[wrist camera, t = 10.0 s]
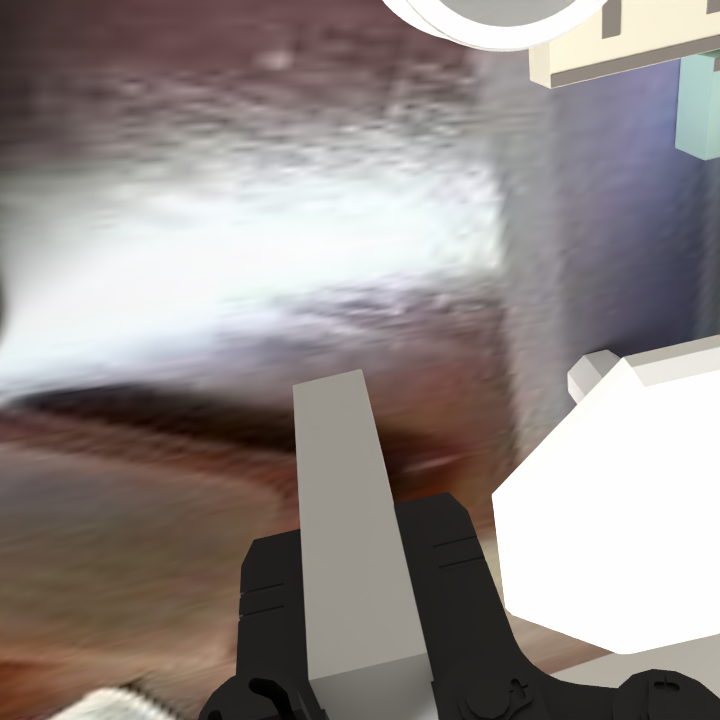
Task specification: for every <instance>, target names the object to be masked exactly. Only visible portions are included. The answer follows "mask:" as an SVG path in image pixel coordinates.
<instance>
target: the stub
mask: <svg viewBox="0 0 720 720" xmlns="http://www.w3.org/2000/svg"><path fill="white" fill-rule="evenodd" d="M675 148H677V149H679V150H681V151H684V152H686V153H688V154H691V155H693V156H695V157H698V158H700V159H702V160H709V159H713V158H717V157H720V49H717V50H713V51H709V52H704V53H700V54H696V55H692V56H687V57H683V58H681V67H680V81H679V95H678V110H677V124H676V138H675Z"/></svg>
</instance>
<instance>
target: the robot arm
mask: <svg viewBox="0 0 720 720" xmlns="http://www.w3.org/2000/svg"><path fill="white" fill-rule="evenodd" d="M293 397H294V415H295V434H296V453H297V472H298V490H299V509H300V528H301V529H297V530H293V531H289V532H285V533H280V534H276V535H272V536H268V537H264V538H259V539H255V540H254V541H253V543H252V545H251V547H250V549H249V551H248V553H247V555H246V557H245V560H244V562H243V564H242V566H241V584H240V595H241V598H240V604H239V618H240V621H239V624H238V644H237V664H236V675H235V676H233V677H231V678H229V679H228V680H227V681H226V682H225V683H224V684H222V685H221V686H220V687H219V688H218V689H217V690H215V691H214V692H213V693H212V695H211V696H210V698H209V699H208V701H207V703H206V704H205V706H204V707H203V709H202V710H201V712H200V715H199V718H198V720H720V699H719V698H718V697H717V696H716V695H715V694H714V693H712V692H711V691H710V690H709V689H707V688H706V687H705V686H704V685H703V684H701V683H700V682H699V681H697V680H695V679H692V678H690V677H688V676H685V675H683V674H681V673H678V672H676V671H667V670H657V669H651V670H648V671H644V672H640V673H637V674H634V675H632V676H631V677H630V678H629V679H627V680H626V681H625V682H624V683H623V684H622V685H621V686H619V688H608V687H599V686H589V685H580V684H574V683H569V682H565V681H560V680H558V679H556V678H554V677H552V676H550V675H547V674H545V673H544V672H542V671H541V670H540V669H538V668H537V667H536V666H534V665H533V664H532V663H531V662H530V661H529V660H528V659H527V658H526V656H525V655H524V654H523V653H522V652H521V650H520V648H519V646H518V644H517V642H516V640H515V638H514V636H513V633H512V630H511V627H510V625H509V622H508V619H507V617H506V614H505V611H504V608H503V606H502V603H501V600H500V597H499V595H498V592H497V589H496V587H495V584H494V581H493V578H492V576H491V573H490V570H489V568H488V565H487V562H486V561H485V557H484V554H483V551H482V548H481V546H480V543H479V540H478V539H477V535H476V532H475V529H474V527H473V524H472V521H471V519H470V516H469V513H468V511H467V510H466V509H465V508H464V507H463V506H462V505H461V504H460V503H459V502H458V501H457V500H456V499H455V498H454V497H453V496H452V495H451V494H450V493H449V492H446V493H442V494H438V495H434V496H429V497H425V498H421V499H417V500H413V501H408V502H404V503H400V504H396V505H394V503H393V498H392V494H391V490H390V485H389V481H388V477H387V472H386V468H385V464H384V460H383V456H382V451H381V447H380V443H379V439H378V435H377V431H376V426H375V422H374V418H373V414H372V410H371V406H370V402H369V397H368V393H367V389H366V385H365V381H364V377H363V372H362V369H359V370H355V371H351V372H346V373H342V374H338V375H334V376H330V377H325V378H321V379H317V380H313V381H308V382H304V383H300V384H296V385H293Z"/></svg>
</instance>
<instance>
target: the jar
mask: <svg viewBox="0 0 720 720" xmlns="http://www.w3.org/2000/svg"><path fill="white" fill-rule="evenodd" d="M383 1H384V3H385V4H386V5H387V6H388V7H389V8H390V9H391V10H392V11H393V12H394V13H396V14H397V15H398V16H399V17H401V18H402V19H403V20H405V21H406V22H408V23H409V24H411V25H412V26H414V27H416V28H418V29H420V30H422V31H424V32H426V33H429V34H431V35H434V36H438V37H441V38H445V39H449V40H451V41H454V42H456V43H459V44H462V45H465V46H468V47H472V48H476V49H481V50H487V51H498V52H507V51H518V50H524V49H529V48H533V47H537V46H540V45H543V44H546V43H548V42H551V41H553V40H555V39H557V38H559V37H561V36H563V35H565V34H567V33H569V32H570V31H572V30H573V29H575V28H576V27H578V26H579V25H581V24H582V23H583V22H585V21H586V20H587V19H589V18H590V17H591V16H592V15H593V14H594V13H596V12H597V11H598V10H599V9H600V8H601V7H602V6H603V5H604V4H605V3H606V2H607V1H608V0H383Z"/></svg>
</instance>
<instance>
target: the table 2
mask: <svg viewBox="0 0 720 720" xmlns="http://www.w3.org/2000/svg"><path fill="white" fill-rule="evenodd" d="M568 392H569V393H570V394H571V396H572V397H573V399H574V400H575V402H576V403H577V404H578V405H577V406H576V407H575V408H574V409H573V410H572V411H571V412H570V413H569V414H568V415H567V416H566V417H565V419H564V420H563V421H562V422H561V423H560V424H559V425H558V426H557V427H556V428H555V429H554V430H553V431H552V432H551V433H550V434H549V435H548V436H547V437H546V438H545V439H544V441H543V442H542V443H541V444H540V445H539V446H538V447H537V448H536V449H535V450H534V451H533V452H532V453H531V454H530V455H529V456H528V457H527V458H526V459H525V460H524V462H523V463H522V464H521V465H520V466H519V467H518V468H517V469H516V470H515V471H514V472H513V473H512V474H511V475H510V476H509V477H508V478H507V479H506V480H505V481H504V482H503V484H502V485H501V486H500V487H499V488H498V489H497V490H496V491H495V492H494V493H493V494H492V499H493V507H494V515H495V524H496V532H497V540H498V549H499V557H500V565H501V574H502V582H503V590H504V599H505V607H506V609H507V610H508V611H509V612H510V613H511V614H512V615H515V616H518V617H521V618H523V619H526V620H529V621H531V622H534V623H537V624H540V625H542V626H545V627H548V628H550V629H553V630H556V631H559V632H561V633H564V634H567V635H569V636H572V637H575V638H578V639H580V640H583V641H586V642H589V643H591V644H594V645H597V646H599V647H602V648H605V649H608V650H610V651H613V652H616V653H619V654H632V653H636V652H640V651H645V650H649V649H653V648H658V647H662V646H667V645H671V644H675V643H679V642H684V641H689V640H693V639H697V638H702V637H706V636H711V635H715V634H719V633H720V335H715V336H711V337H707V338H702V339H698V340H694V341H690V342H685V343H681V344H677V345H672V346H668V347H664V348H659V349H655V350H651V351H647V352H642V353H638V354H634V355H629V356H625V357H623V358H620V357H618V356H617V355H615V354H614V353H612V352H610V351H609V350H603V351H598V352H594V353H590V354H586V355H583V356H582V357H581V359H580V360H579V361H578V362H577V363H576V364H575V365H574V366H573V367H572V368H571V369H570V370H569V372H568Z"/></svg>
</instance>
